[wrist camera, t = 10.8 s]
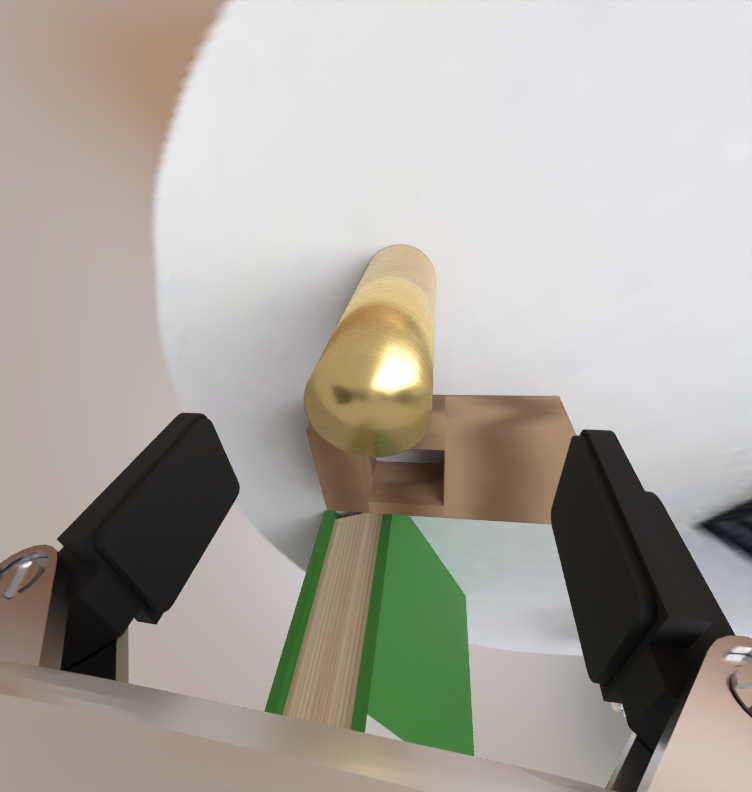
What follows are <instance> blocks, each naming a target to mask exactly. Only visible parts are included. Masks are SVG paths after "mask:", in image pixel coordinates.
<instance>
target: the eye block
mask: <svg viewBox="0 0 752 792" xmlns="http://www.w3.org/2000/svg"><path fill="white" fill-rule="evenodd" d="M307 435H308V438H309V442H310V446H311V450H312V454H313V457H314V461H315V465H316V469H317V473H318V476H319V480H320V484H321V488H322V492H323V495H324V499H325V503H326V507H327V510H331V511H347V512H363V513H378V514H394V515H410V516H426V517H442V518H458V519H474V520H489V521H505V522H521V523H537V524H551V508H552V504H553V501H554V497H555V494H556V490H557V487H558V483H559V480H560V476H561V473H562V469H563V466H564V462H565V459H566V455H567V452H568V448H569V445H570V441H571V438H572V437H573V436H574V435H576V434H575V431H574V429H573V427H572V424H571V422H570V420H569V418H568V415H567V413H566V411H565V409H564V406H563V404H562V402H561V400H560V397H559V396H463V395H432V417H431V422H430V426H429V428H428V430H427V432H426V433H425V435H424V436H423V438H422V439H421V440H420V441H419V442H418V443H417V444H415V445H414V446H413V447H411V448H409V449H424V450H444V462H443V464H421V463H396V462H376V458H375V457H366V456H360V455H356V454H352V453H349V452H346V451H344V450H341V449H339V448H337V447H336V446H334V445H332V444H331V443H329V442H328V441H327V440H325V439H324V438H323V437H322V436H321V435H320V434H319V433H318V432H317V431H316V430H315V429H314V427H313V426H312V424H311V423H310V424H309V426H308V429H307Z"/></svg>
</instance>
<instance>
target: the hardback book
mask: <svg viewBox="0 0 752 792" xmlns="http://www.w3.org/2000/svg"><path fill="white" fill-rule="evenodd" d="M264 712H268V713H273V714H278V715H283V716H287V717H292V718H297V719H302V720H306V721H311V722H316V723H321V724H325V725H330V726H335V727H340V728H344V729H349V730H354V731H358V732H363V733H368V734H372V735H377V736H382V737H386V738H391V739H396V740H400V741H405V742H410V743H414V744H419V745H423V746H428V747H433V748H437V749H442V750H447V751H451V752H456V753H461V754H465V755H470V756H474V745H473V726H472V708H471V689H470V670H469V652H468V633H467V614H466V596H465V594H464V593H463V591H462V590H461V589H460V587H459V586H458V584H457V583H456V581H455V580H454V579H453V577H452V576H451V574H450V573H449V572H448V570H447V569H446V567H445V566H444V564H443V563H442V562H441V560H440V559H439V557H438V556H437V554H436V553H435V552H434V550H433V549H432V547H431V546H430V545H429V543H428V542H427V540H426V539H425V537H424V536H423V535H422V533H421V532H420V530H419V529H418V527H417V526H416V525H415V523H414V522H413V520H412V519H411V517H410V516H409V515H394V514H378V513H362V514H357V515H353V516H348V517H343V518H340V517H339V516H338V514H337V513H336V512H335V511H331V510H327V511H325V512H324V516H323V519H322V522H321V525H320V529H319V532H318V535H317V539H316V542H315V545H314V549H313V552H312V555H311V559H310V562H309V565H308V569H307V572H306V575H305V579H304V582H303V585H302V588H301V592H300V595H299V598H298V602H297V605H296V608H295V612H294V615H293V618H292V622H291V625H290V628H289V631H288V635H287V638H286V641H285V645H284V648H283V652H282V655H281V658H280V661H279V665H278V668H277V671H276V675H275V678H274V681H273V685H272V688H271V691H270V694H269V698H268V701H267V704H266V708H265V711H264Z"/></svg>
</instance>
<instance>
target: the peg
mask: <svg viewBox="0 0 752 792" xmlns="http://www.w3.org/2000/svg"><path fill="white" fill-rule="evenodd" d="M435 287H436V277H435V271H434V268H433V265H432V263H431V261H430V260H429V258H428V257H427V256H426V255H425V254H424V253H423V252H422V251H420V250H418V249H417V248H415V247H412V246H409V245H392V246H389V247H386V248H384V249H382V250H381V251H379V252H378V253H377V254H376V255H375V256H374V257H373V258H372V260H371V261H370V263H369V265H368V267H367V269H366V271H365V273H364V275H363V277H362V279H361V281H360V283H359V285H358V286H357V288H356V290H355V292H354V294H353V296H352V298H351V300H350V302H349V304H348V306H347V308H346V310H345V312H344V314H343V315H342V317H341V319H340V321H339V323H338V325H337V327H336V329H335V331H334V333H333V335H332V337H331V339H330V341H329V342H328V344H327V346H326V348H325V350H324V352H323V354H322V356H321V358H320V360H319V362H318V364H317V366H316V368H315V370H314V371H313V373H312V375H311V377H310V379H309V381H308V383H307V386H306V389H305V393H304V406H305V411H306V414H307V417H308V419H309V421H310V423H311V424H312V426H313V427H314V429H315V430H316V431H317V432H318V433H319V434H320V435H321V436H322V437H323V438H324V439H325V440H327V441H328V442H329V443H331V444H332V445H334V446H336V447H337V448H339V449H341V450H344V451H346V452H349V453H352V454H356V455H360V456H366V457H385V456H391V455H395V454H398V453H401V452H404V451H406V450H408V449H409V448H411V447H413V446H414V445H415V444H417V443H418V442H419V441H420V440H421V439H422V438H423V436H424V435H425V433H426V432H427V430H428V428H429V426H430V422H431V417H432V391H433V356H434V321H435Z"/></svg>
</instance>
